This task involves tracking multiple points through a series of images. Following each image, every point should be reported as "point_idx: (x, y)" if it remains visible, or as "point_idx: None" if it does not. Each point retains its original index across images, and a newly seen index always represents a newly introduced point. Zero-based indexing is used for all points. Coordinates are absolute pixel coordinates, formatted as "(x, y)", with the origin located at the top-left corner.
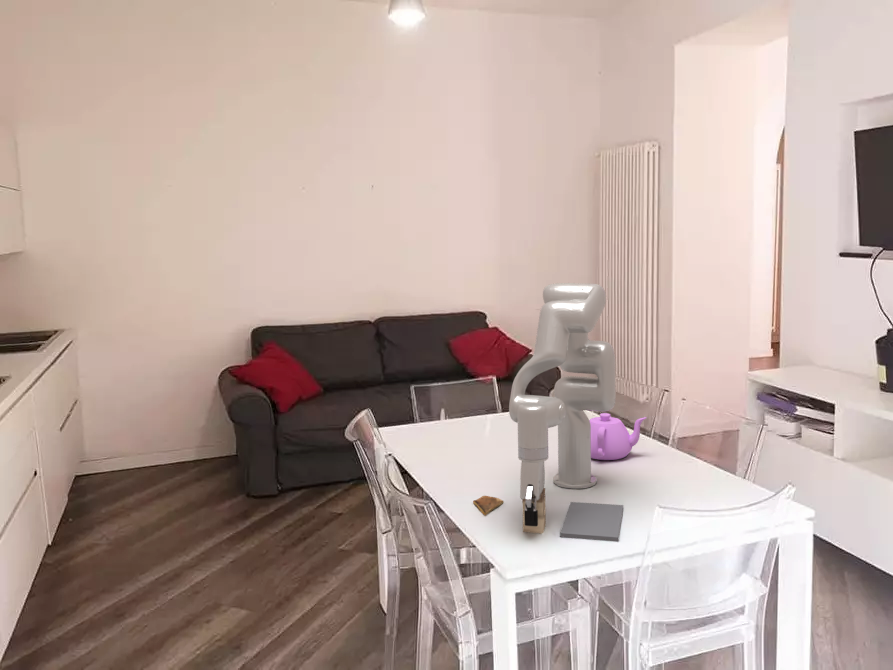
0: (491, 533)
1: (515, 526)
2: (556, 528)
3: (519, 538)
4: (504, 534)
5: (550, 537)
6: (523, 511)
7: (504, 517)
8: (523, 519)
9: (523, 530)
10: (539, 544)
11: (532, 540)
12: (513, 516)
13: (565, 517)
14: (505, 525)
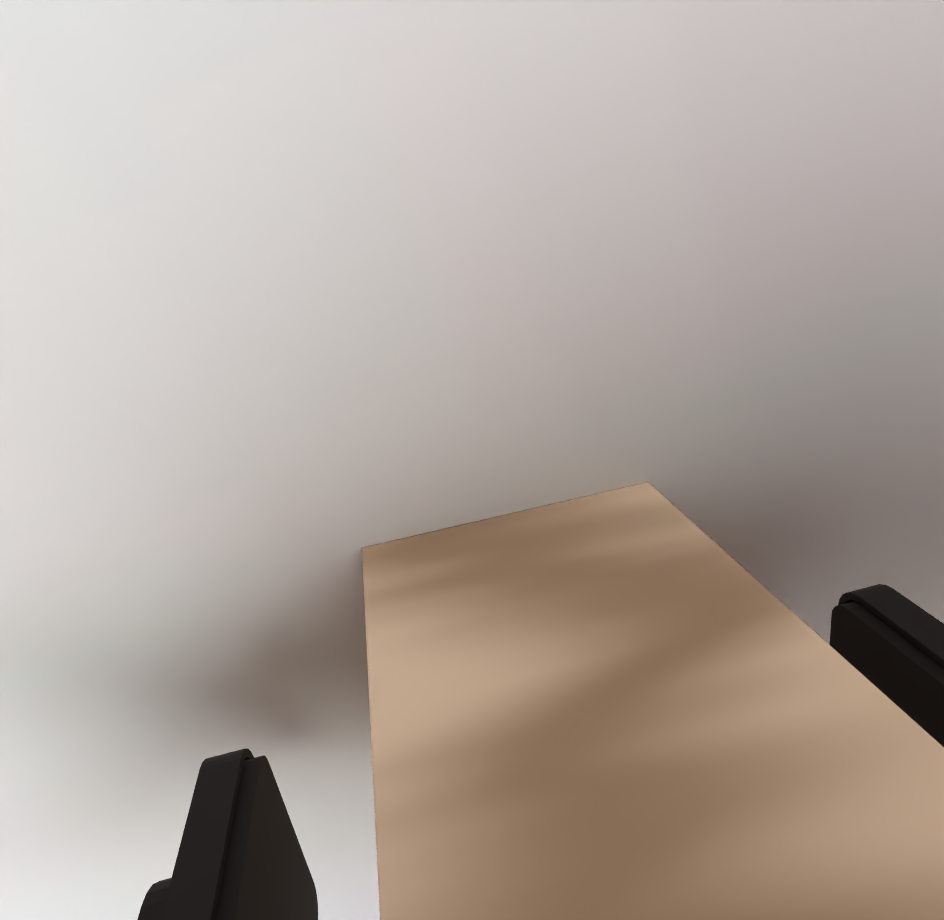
0: (9, 40)
1: (524, 364)
2: None
3: (95, 601)
4: (113, 321)
5: (336, 877)
6: (381, 851)
7: (861, 18)
8: (369, 692)
9: (365, 565)
10: (57, 876)
11: (131, 766)
12: (917, 172)
13: None
14: (512, 181)
